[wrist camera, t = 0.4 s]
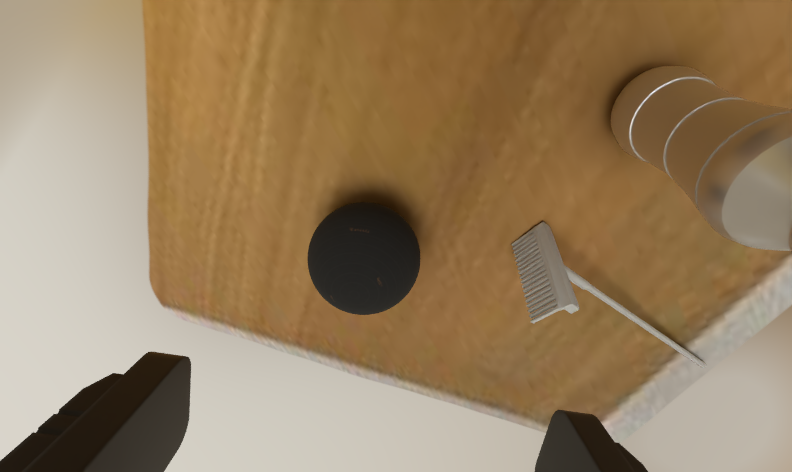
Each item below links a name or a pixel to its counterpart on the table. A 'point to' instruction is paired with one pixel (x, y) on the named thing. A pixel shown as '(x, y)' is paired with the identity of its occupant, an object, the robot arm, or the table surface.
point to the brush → (563, 282)
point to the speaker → (363, 258)
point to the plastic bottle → (713, 151)
